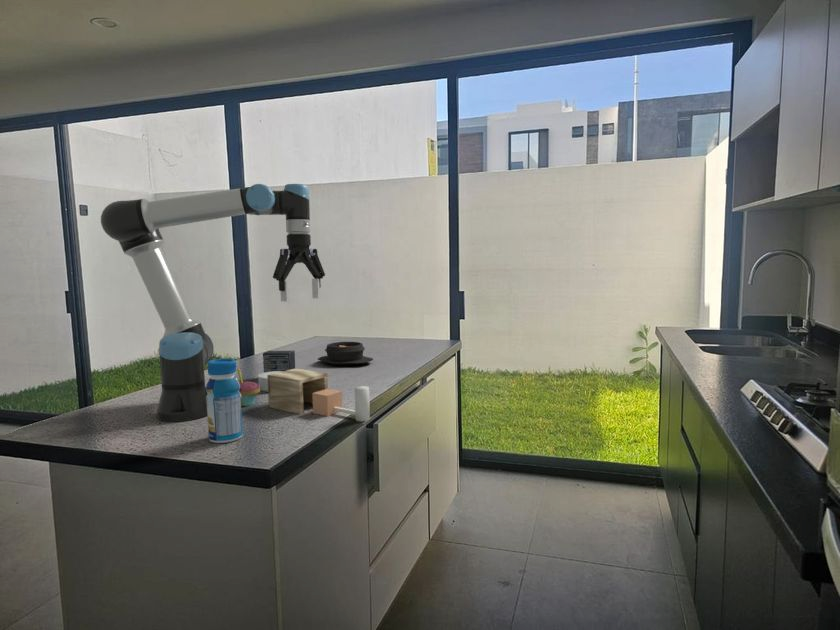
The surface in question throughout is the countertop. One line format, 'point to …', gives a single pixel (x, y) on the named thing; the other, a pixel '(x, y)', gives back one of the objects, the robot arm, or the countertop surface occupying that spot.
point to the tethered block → (332, 403)
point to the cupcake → (248, 391)
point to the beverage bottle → (223, 402)
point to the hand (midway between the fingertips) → (301, 299)
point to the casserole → (345, 353)
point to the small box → (278, 360)
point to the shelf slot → (294, 388)
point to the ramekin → (265, 380)
